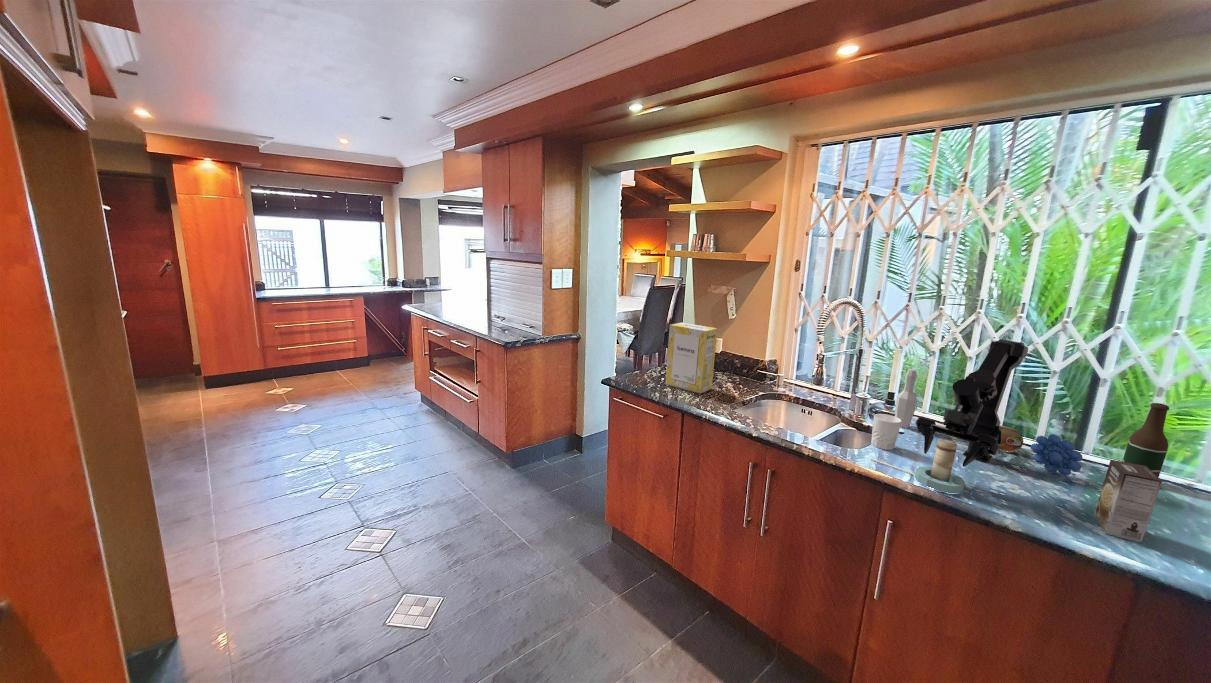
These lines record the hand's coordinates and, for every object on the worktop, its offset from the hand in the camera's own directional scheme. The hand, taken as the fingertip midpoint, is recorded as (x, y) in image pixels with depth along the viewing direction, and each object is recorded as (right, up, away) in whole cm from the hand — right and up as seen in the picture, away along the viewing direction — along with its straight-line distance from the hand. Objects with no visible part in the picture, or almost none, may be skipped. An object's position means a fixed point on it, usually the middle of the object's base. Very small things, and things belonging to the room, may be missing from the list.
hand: (943, 459), depth 129 cm
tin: (+38, -4, +29) cm, 48 cm away
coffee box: (+30, -13, -17) cm, 37 cm away
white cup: (-1, -2, +26) cm, 26 cm away
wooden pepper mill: (0, -7, +2) cm, 8 cm away
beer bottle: (+66, -9, +10) cm, 67 cm away
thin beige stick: (-8, -5, +10) cm, 14 cm away
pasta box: (-57, +12, +82) cm, 101 cm away
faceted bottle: (+17, +1, +45) cm, 49 cm away
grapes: (+41, -7, +11) cm, 43 cm away
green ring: (0, -7, +2) cm, 8 cm away
